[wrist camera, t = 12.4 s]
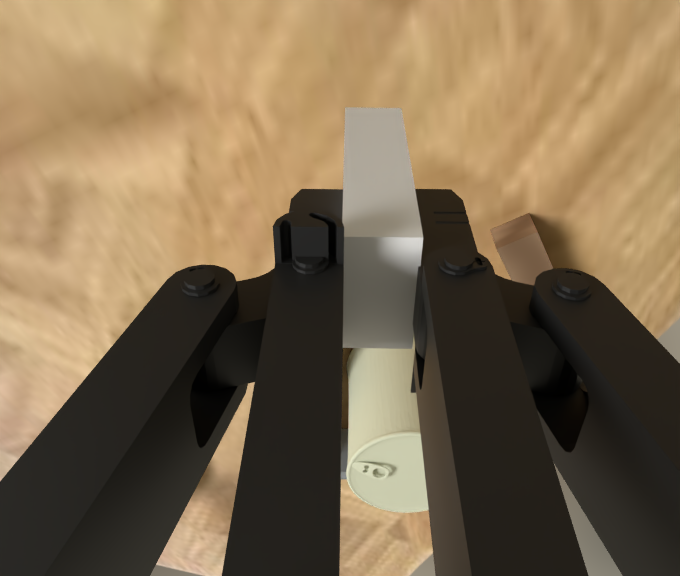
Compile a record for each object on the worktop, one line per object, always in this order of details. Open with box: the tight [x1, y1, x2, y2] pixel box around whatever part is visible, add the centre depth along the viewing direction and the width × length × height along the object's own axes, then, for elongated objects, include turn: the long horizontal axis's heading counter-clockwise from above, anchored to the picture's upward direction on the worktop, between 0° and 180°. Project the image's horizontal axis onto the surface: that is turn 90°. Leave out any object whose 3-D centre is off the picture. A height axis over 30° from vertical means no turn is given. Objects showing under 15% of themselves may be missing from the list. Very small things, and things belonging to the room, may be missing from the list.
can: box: [346, 337, 429, 513], centre depth 51 cm, size 9×9×12 cm
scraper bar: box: [490, 213, 553, 285], centre depth 50 cm, size 3×18×3 cm, turn 29°
